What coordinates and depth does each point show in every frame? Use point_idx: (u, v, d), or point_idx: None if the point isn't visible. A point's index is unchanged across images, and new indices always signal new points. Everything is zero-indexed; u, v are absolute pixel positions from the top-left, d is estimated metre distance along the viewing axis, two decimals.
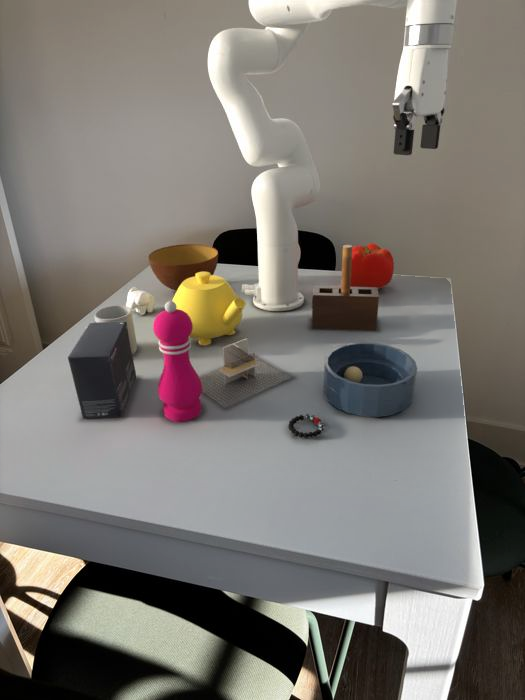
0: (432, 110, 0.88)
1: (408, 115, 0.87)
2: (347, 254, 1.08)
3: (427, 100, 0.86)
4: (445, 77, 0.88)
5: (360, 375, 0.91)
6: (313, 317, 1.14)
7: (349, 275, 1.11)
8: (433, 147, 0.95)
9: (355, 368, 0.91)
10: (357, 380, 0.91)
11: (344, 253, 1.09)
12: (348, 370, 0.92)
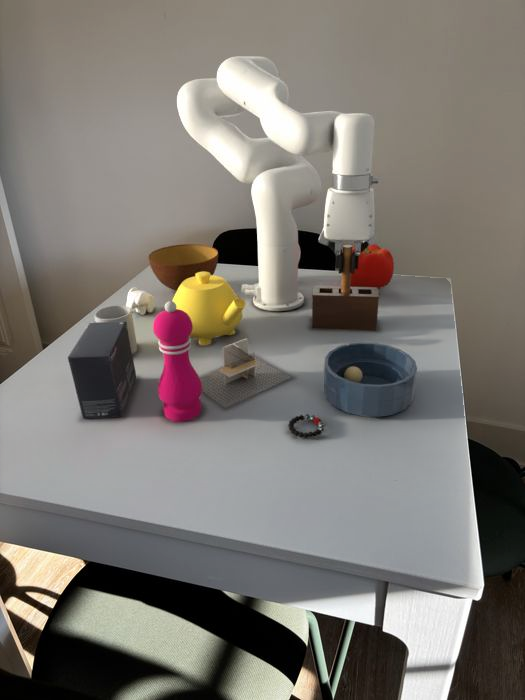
0: (349, 237, 1.06)
1: None
2: (347, 254, 1.08)
3: (336, 229, 1.05)
4: (366, 213, 1.03)
5: (360, 375, 0.91)
6: (313, 317, 1.14)
7: (349, 275, 1.11)
8: (351, 272, 1.10)
9: (355, 368, 0.91)
10: (357, 380, 0.91)
11: (344, 253, 1.09)
12: (348, 370, 0.92)
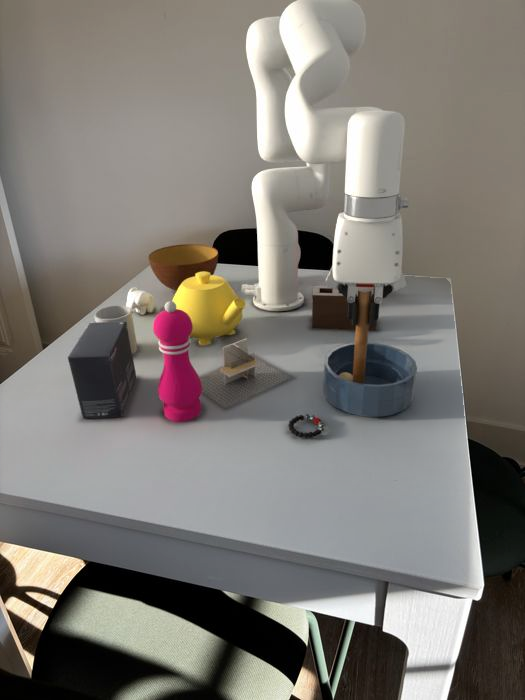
0: (368, 280, 0.77)
1: None
2: (364, 301, 0.80)
3: (350, 269, 0.77)
4: (392, 249, 0.75)
5: None
6: (313, 317, 1.14)
7: (366, 328, 0.82)
8: (369, 324, 0.82)
9: (344, 372, 0.90)
10: None
11: (360, 299, 0.80)
12: None
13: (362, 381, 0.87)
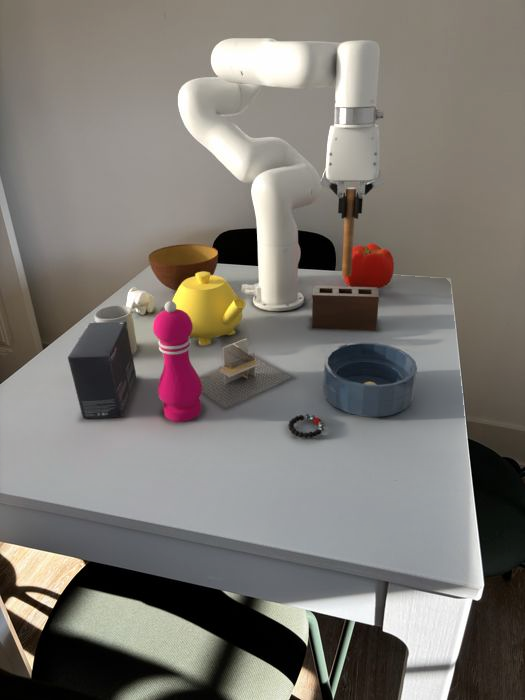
0: (353, 178, 1.00)
1: None
2: (350, 196, 1.03)
3: (339, 169, 0.99)
4: (371, 150, 0.97)
5: None
6: (313, 317, 1.14)
7: (352, 220, 1.05)
8: (354, 217, 1.04)
9: None
10: None
11: (347, 195, 1.03)
12: None
13: (350, 267, 1.09)
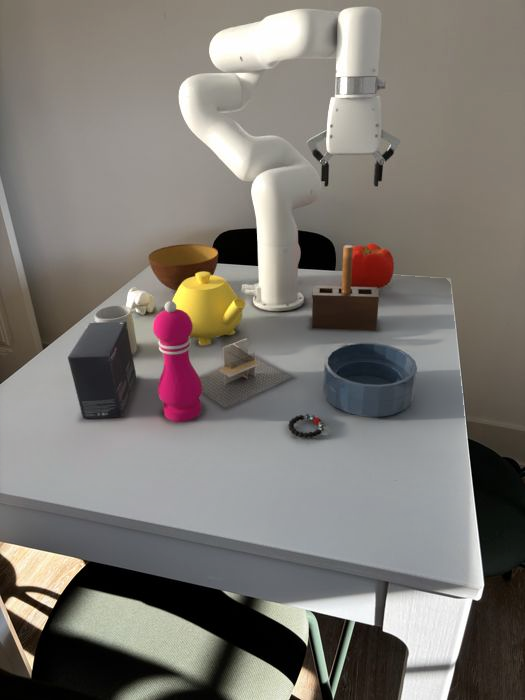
0: (354, 150, 0.98)
1: None
2: (348, 254, 1.08)
3: (340, 141, 0.97)
4: (373, 122, 0.95)
5: None
6: (313, 317, 1.14)
7: (349, 275, 1.10)
8: None
9: None
10: None
11: (345, 253, 1.08)
12: None
13: None
